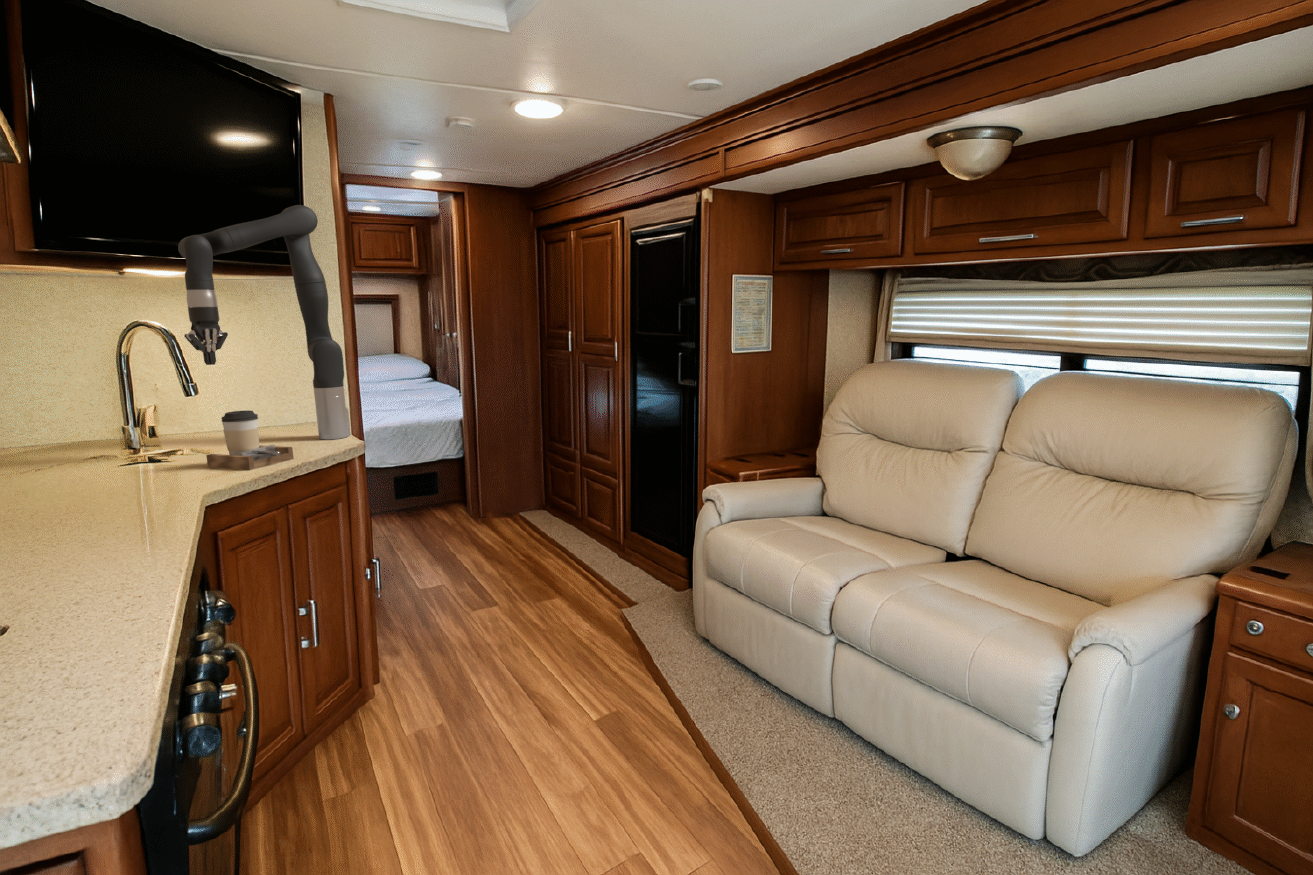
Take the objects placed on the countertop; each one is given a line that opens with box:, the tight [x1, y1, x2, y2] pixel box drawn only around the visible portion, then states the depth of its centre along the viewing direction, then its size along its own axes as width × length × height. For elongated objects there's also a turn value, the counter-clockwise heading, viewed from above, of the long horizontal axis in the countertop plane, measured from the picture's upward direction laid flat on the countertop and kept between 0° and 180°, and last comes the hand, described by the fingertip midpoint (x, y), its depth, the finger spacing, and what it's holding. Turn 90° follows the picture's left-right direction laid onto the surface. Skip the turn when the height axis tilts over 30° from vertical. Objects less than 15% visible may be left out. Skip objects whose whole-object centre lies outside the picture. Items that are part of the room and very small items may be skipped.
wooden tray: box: [205, 444, 294, 471], centre depth 201 cm, size 15×15×4 cm
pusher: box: [239, 444, 280, 461], centre depth 199 cm, size 8×11×4 cm
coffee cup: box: [221, 410, 260, 455], centre depth 200 cm, size 9×9×15 cm
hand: (210, 364), depth 213 cm, fingers closed
